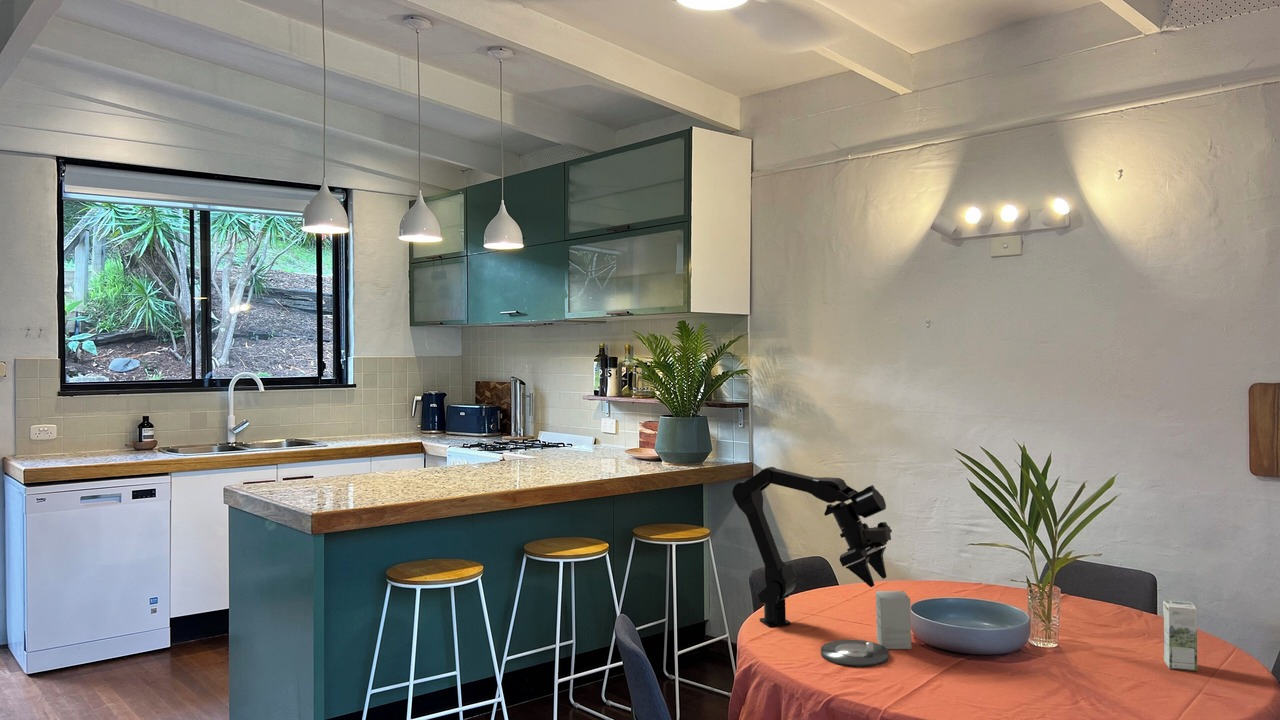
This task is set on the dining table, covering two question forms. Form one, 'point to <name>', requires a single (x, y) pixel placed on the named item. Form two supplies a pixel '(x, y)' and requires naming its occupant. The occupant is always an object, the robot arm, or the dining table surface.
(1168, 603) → the syrup box
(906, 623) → the supplement box
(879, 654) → the base plate
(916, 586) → the dining table surface
